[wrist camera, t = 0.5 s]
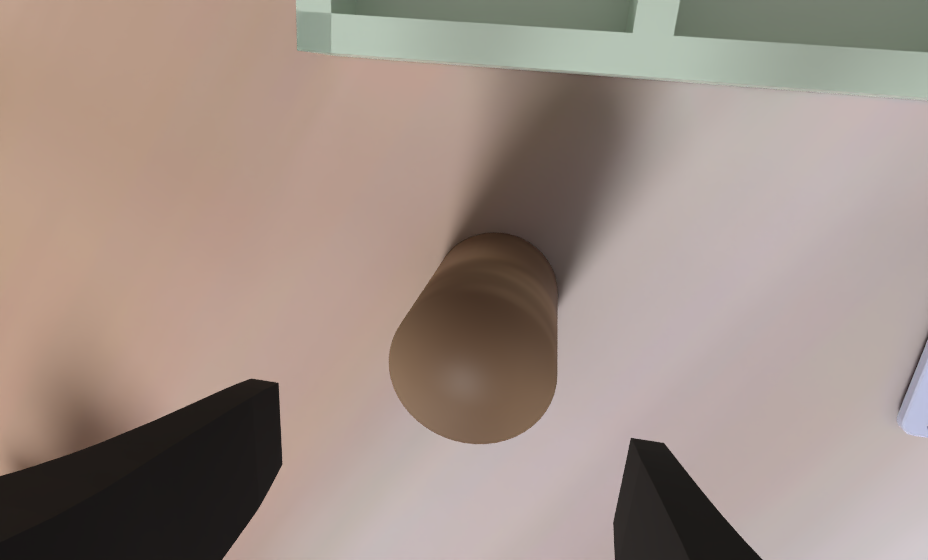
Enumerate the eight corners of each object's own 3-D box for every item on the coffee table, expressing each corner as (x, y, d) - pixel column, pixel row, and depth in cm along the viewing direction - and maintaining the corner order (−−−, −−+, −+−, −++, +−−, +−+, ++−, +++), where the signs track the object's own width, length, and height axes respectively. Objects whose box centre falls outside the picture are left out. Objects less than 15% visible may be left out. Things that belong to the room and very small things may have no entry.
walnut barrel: (565, 240, 19) (568, 304, 13) (549, 354, 20) (545, 455, 15) (439, 225, 19) (390, 281, 14) (432, 338, 21) (386, 430, 15)
